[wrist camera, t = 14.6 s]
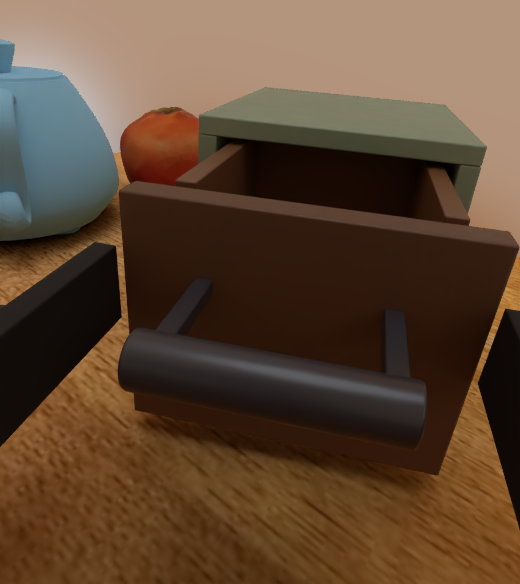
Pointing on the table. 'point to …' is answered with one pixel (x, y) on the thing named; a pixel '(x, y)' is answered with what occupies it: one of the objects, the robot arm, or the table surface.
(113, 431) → the table surface
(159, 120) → the tomato
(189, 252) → the drawer
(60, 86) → the teapot
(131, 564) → the table surface
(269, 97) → the cabinet
